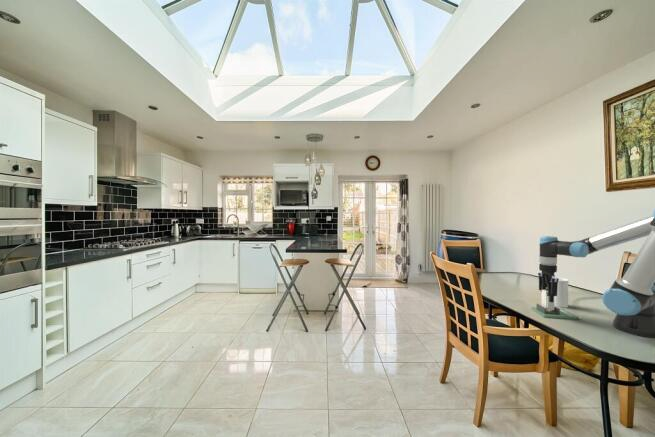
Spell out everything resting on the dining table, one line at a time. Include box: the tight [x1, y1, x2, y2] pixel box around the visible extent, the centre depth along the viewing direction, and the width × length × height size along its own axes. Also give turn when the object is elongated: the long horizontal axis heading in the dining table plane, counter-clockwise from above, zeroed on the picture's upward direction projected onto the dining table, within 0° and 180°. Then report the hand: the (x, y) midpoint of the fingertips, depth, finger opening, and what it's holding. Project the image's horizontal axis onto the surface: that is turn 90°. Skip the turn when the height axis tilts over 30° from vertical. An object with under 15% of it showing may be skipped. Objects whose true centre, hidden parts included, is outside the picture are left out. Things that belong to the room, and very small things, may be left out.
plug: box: [541, 287, 554, 310], centre depth 145 cm, size 4×4×12 cm
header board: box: [531, 303, 580, 320], centre depth 144 cm, size 12×16×4 cm
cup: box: [554, 276, 569, 309], centre depth 157 cm, size 8×8×16 cm
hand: (547, 305), depth 145 cm, fingers closed on plug, 4 cm apart
